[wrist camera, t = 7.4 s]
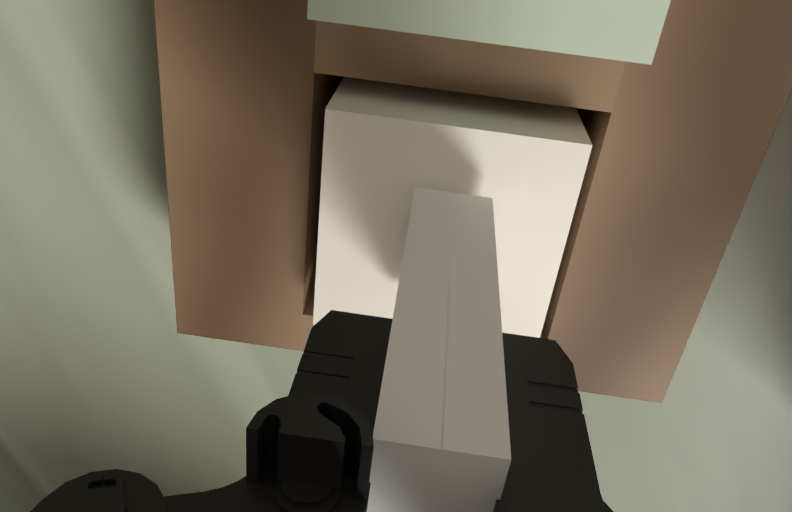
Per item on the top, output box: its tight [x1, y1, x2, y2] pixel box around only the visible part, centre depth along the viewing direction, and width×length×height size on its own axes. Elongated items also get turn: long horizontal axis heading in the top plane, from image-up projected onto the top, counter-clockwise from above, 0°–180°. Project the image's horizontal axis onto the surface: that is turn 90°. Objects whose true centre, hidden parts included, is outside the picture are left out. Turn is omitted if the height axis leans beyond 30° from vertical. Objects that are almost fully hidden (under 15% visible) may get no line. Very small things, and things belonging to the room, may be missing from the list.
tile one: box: [313, 77, 593, 338], centre depth 15 cm, size 5×5×3 cm
